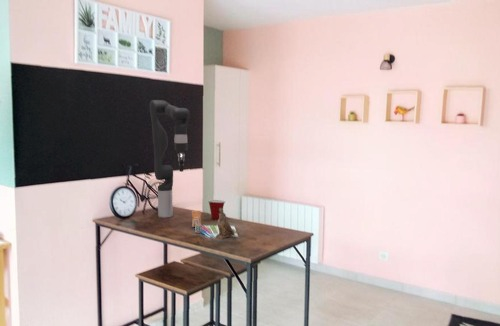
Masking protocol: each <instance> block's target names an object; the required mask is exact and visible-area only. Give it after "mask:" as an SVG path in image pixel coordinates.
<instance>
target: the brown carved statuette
mask: <svg viewBox="0 0 500 326" xmlns="http://www.w3.org/2000/svg"><path fill="white" fill-rule="evenodd" d="M219 211H220V213H219V219H218V220H216V221H217V228H218V232H219V233H218V234H216V235H215V239H220V240H224V239H227V238H230V237H232V236H235V231H234V230H233V228H232V227H231V224H230V223H229V221H228V219H227V214H226V213H225V212H224V208H223V209H222V208H220V209H219Z"/></svg>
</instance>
